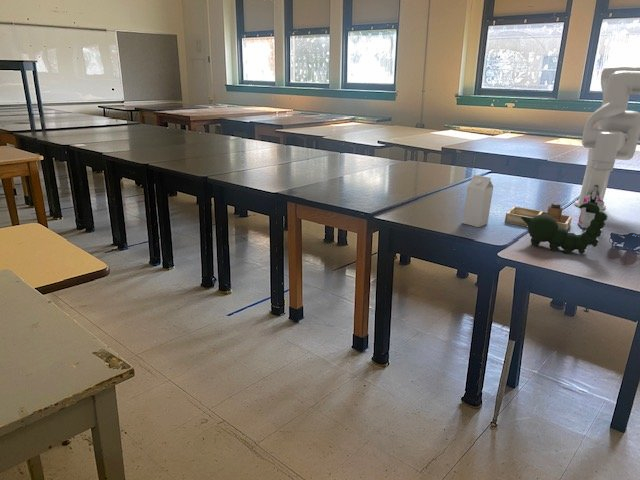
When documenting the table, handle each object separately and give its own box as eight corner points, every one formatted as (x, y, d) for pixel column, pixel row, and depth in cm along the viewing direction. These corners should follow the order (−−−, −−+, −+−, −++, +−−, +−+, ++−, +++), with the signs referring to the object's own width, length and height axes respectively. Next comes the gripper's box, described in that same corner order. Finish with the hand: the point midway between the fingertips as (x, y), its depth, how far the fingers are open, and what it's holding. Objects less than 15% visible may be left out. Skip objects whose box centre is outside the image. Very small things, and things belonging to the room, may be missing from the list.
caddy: (512, 214, 202) (516, 194, 198) (570, 225, 190) (574, 203, 187) (504, 222, 191) (508, 200, 188) (564, 233, 180) (569, 210, 177)
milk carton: (471, 219, 193) (477, 173, 187) (487, 224, 189) (495, 176, 182) (461, 223, 188) (468, 175, 182) (478, 227, 184) (486, 179, 177)
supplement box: (598, 230, 185) (605, 202, 181) (581, 229, 186) (588, 200, 182) (593, 226, 190) (599, 198, 187) (577, 224, 192) (583, 196, 188)
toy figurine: (593, 257, 163) (517, 235, 175) (612, 204, 156) (532, 185, 168) (589, 265, 156) (511, 242, 168) (609, 211, 148) (526, 190, 160)
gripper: (593, 161, 189) (583, 204, 194) (588, 167, 175) (577, 212, 180) (615, 164, 185) (604, 207, 190) (611, 170, 171) (600, 216, 176)
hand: (591, 209), depth 185 cm, fingers open, 9 cm apart
